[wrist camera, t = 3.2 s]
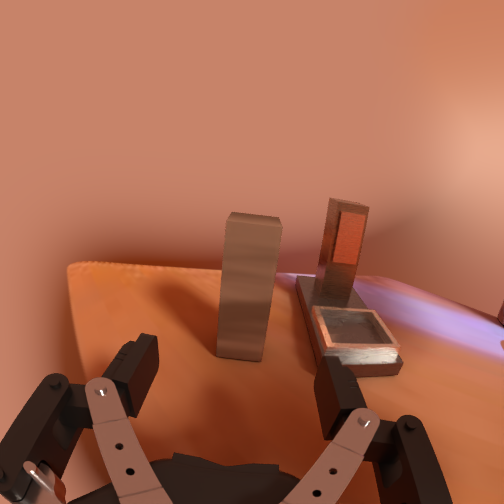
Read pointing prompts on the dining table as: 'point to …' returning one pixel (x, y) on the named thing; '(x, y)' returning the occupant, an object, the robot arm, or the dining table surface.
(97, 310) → the dining table surface
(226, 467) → the robot arm
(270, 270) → the wooden post
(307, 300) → the brown post on slab
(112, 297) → the dining table surface
